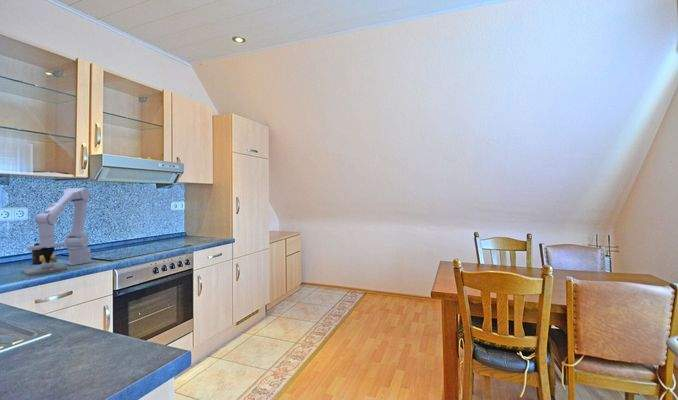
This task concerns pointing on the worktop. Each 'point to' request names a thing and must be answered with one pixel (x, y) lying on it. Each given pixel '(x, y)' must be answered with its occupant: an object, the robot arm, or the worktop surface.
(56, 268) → the plate
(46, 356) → the worktop surface
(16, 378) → the worktop surface
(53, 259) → the crank handle
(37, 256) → the supplement bottle
